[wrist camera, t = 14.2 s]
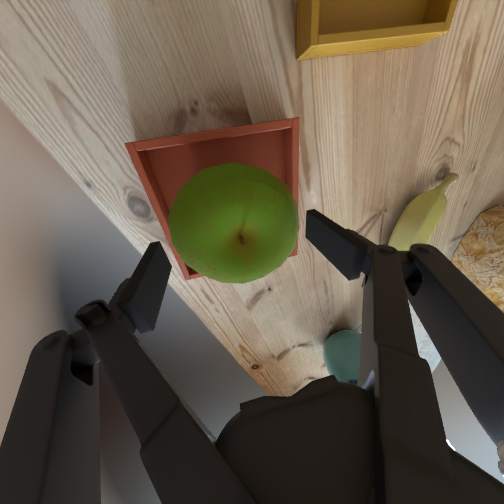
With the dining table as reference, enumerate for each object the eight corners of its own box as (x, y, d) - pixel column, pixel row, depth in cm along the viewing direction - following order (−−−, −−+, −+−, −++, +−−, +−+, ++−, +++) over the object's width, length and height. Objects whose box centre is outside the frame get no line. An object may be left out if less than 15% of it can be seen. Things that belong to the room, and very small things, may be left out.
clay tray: (187, 267, 29) (185, 280, 26) (136, 143, 20) (123, 143, 17) (289, 245, 31) (297, 255, 28) (287, 120, 21) (299, 117, 18)
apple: (161, 198, 22) (124, 239, 13) (238, 131, 20) (262, 121, 11) (225, 259, 29) (232, 316, 19) (288, 213, 27) (330, 252, 17)
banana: (393, 289, 31) (469, 165, 24) (363, 272, 35) (420, 163, 28) (421, 282, 38) (487, 185, 31) (393, 269, 42) (445, 182, 35)
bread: (468, 301, 55) (514, 329, 47) (434, 315, 56) (473, 346, 47) (516, 196, 35) (611, 212, 27) (463, 220, 36) (540, 244, 28)
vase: (310, 337, 48) (428, 570, 22) (357, 315, 47) (543, 532, 21) (321, 357, 56) (419, 548, 29) (362, 339, 54) (503, 520, 28)
